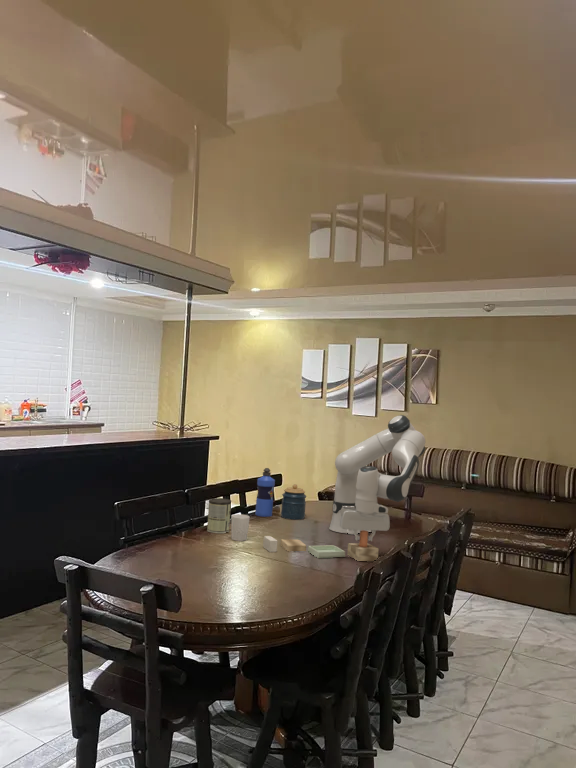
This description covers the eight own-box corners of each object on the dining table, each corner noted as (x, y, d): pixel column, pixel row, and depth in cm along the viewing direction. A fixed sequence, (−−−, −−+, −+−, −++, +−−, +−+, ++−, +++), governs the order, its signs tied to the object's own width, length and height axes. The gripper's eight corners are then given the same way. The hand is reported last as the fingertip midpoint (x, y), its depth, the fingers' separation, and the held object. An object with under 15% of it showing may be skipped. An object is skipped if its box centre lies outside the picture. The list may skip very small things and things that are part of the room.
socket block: (366, 554, 241) (367, 542, 241) (377, 561, 233) (378, 548, 233) (347, 555, 238) (348, 543, 238) (358, 561, 229) (359, 549, 229)
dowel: (363, 557, 237) (365, 530, 238) (367, 559, 234) (369, 532, 235) (356, 557, 236) (358, 530, 236) (360, 559, 233) (362, 532, 233)
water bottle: (274, 514, 313) (277, 468, 314) (269, 517, 304) (272, 469, 305) (258, 512, 316) (261, 466, 317) (252, 515, 307) (256, 468, 308)
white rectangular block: (269, 546, 243) (270, 536, 243) (276, 551, 236) (277, 540, 236) (263, 546, 242) (263, 536, 242) (269, 552, 235) (270, 540, 235)
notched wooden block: (298, 546, 249) (298, 539, 249) (305, 552, 239) (306, 545, 239) (280, 546, 246) (280, 539, 246) (287, 552, 237) (288, 545, 237)
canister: (282, 514, 316) (284, 481, 317) (306, 516, 315) (308, 483, 315) (278, 518, 304) (281, 484, 304) (303, 521, 302) (305, 487, 302)
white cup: (251, 539, 254) (252, 516, 255) (242, 542, 247) (244, 518, 248) (235, 536, 258) (237, 513, 258) (226, 539, 251) (228, 516, 251)
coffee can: (204, 528, 269) (207, 497, 269) (226, 528, 272) (228, 498, 272) (208, 533, 259) (211, 502, 259) (231, 533, 262) (233, 502, 263)
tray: (333, 551, 243) (333, 545, 244) (344, 557, 234) (345, 551, 234) (307, 552, 239) (308, 545, 239) (318, 558, 230) (318, 552, 230)
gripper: (342, 506, 231) (340, 541, 231) (392, 509, 234) (389, 543, 234) (339, 504, 237) (336, 537, 237) (387, 506, 240) (385, 539, 240)
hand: (363, 540), depth 235 cm, fingers open, 4 cm apart
